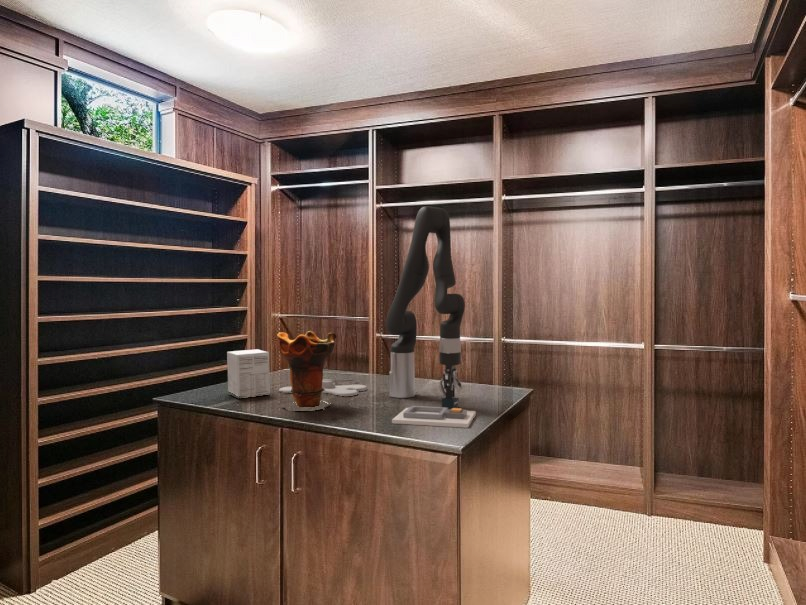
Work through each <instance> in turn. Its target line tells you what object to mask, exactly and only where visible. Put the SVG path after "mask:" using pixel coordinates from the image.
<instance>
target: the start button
mask: <svg viewBox="0 0 806 605" xmlns="http://www.w3.org/2000/svg"><path fill="white" fill-rule="evenodd" d="M450 409H451V413H462V410H463V408H461V407H459V408H458V407H456V408H450Z"/></svg>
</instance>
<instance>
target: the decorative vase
mask: <svg viewBox="0 0 806 605" xmlns="http://www.w3.org/2000/svg"><path fill="white" fill-rule="evenodd" d="M276 337H277V338H278V349H279V352H280V354H281V355H282V357H283V358H284V359H285V360H286V361H287V362H288V369H289V379H290V387H292V389H291V392H292V393H293V394H291V397H292V399H293V400H294V402H295V403H296V405H297V406H299V407H315V406H319V405H320V402H321V401H323V402H325V403H327V404H329V403H328V401H325V400H322V399H321V398H322V391H325V390H324V389H323V388H322V380H323V379H324V366H325V361H326V360H327V359H328V357H329V356H330V355H332V354H333V351H334V349H335V345H336V343H335V340H336V339H337V334H336V332H335V333H334V332H329V333H327V338H326V339H320V338H319V337H318V336H317V334H316V333H315V332H314V331H312V330H309V331H306V332H305V334H299V335H297V337H295V339H290V338H289V334H288V333H286V332H278V333H277V335H276ZM326 396H327V398H329V397H328V395H326ZM330 406H331V405H328V406H326V407H324V408H326V409H327V408H328V407H330Z"/></svg>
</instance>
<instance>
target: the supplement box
mask: <svg viewBox="0 0 806 605" xmlns="http://www.w3.org/2000/svg"><path fill="white" fill-rule="evenodd" d="M226 356H227V357H226V359H227V360H226V361H227V363H226V364H227V365H226V366H227V392H228V391H229V392H231V393H233V394H235V395H236V396H238V397H239V396H248V395H258V394H266V393H271V392H270V390H271V389H270V388H271V387H270V382H271V381H270V379H271V378H270V352H269V351H265V350H261V349H259V348H256V349H244V350H233V351H227V352H226Z"/></svg>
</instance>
